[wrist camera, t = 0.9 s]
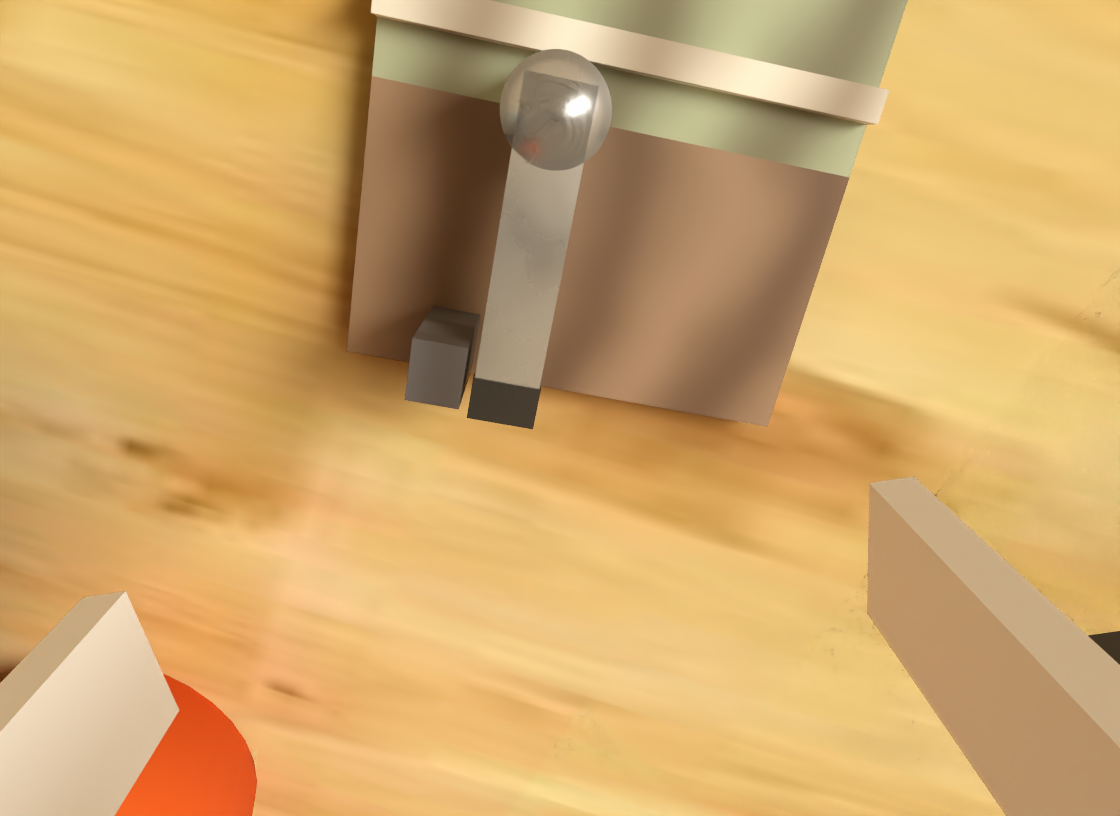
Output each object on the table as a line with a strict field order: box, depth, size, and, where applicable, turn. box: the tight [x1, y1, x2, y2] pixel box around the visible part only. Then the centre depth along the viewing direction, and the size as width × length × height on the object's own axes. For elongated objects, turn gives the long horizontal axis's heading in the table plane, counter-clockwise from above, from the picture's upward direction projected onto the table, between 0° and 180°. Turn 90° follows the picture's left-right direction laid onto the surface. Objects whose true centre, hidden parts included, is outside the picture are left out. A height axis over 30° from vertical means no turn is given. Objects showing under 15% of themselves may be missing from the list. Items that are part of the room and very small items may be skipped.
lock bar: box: [467, 49, 612, 429], centre depth 26 cm, size 13×4×5 cm, turn 169°
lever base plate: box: [347, 0, 907, 427], centre depth 26 cm, size 19×22×6 cm
